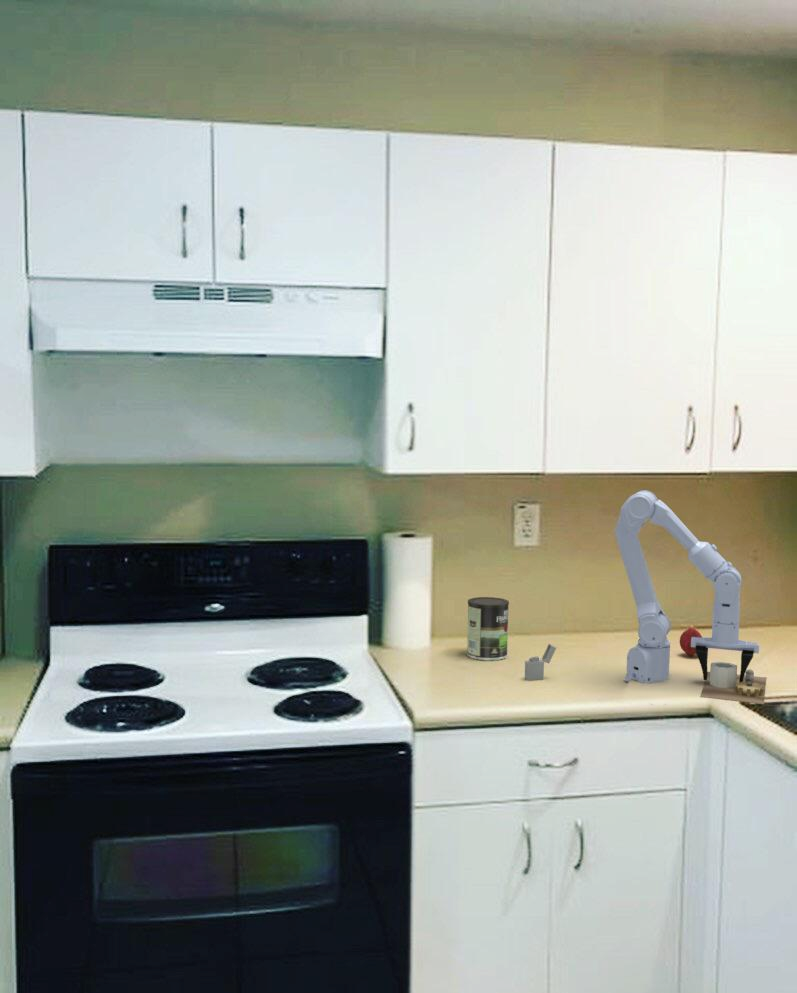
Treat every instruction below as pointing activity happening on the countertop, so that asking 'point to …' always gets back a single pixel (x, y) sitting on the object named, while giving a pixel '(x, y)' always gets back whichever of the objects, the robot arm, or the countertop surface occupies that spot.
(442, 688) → the countertop surface
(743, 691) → the gear board
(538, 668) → the lighter
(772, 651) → the countertop surface
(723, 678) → the hollow cylinder
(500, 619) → the coffee can
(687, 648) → the onion
